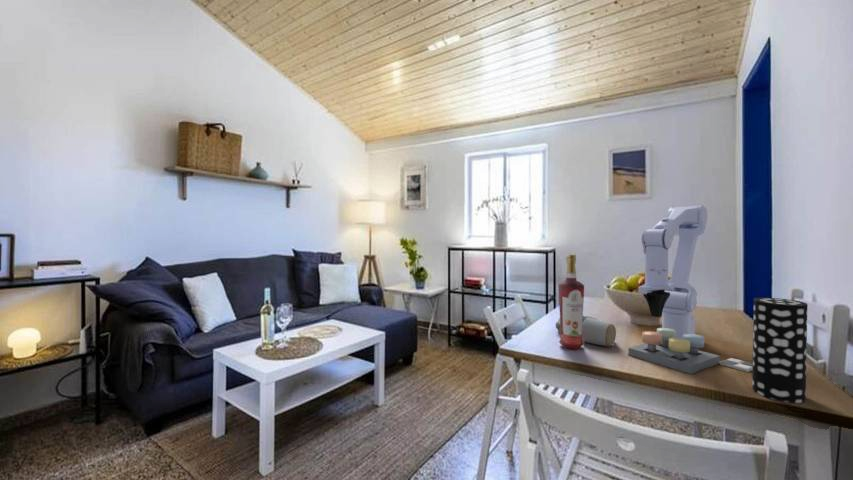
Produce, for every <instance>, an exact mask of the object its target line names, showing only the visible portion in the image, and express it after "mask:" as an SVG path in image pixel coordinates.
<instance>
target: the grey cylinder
mask: <svg viewBox="0 0 853 480" xmlns="http://www.w3.org/2000/svg"><path fill="white" fill-rule="evenodd" d="M616 338H617V330H616V326H615V325H614V324H612V323H611V322H608V321H604V320H601V319H599V320H596V319H593V318H586V319H585V320H584V322H583V325H582V342H584V343H589V344H593V345H598V346H601V347H612V346H613V344H614V343H615V340H616Z"/></svg>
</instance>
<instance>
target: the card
mask: <svg viewBox="0 0 853 480" xmlns="http://www.w3.org/2000/svg"><path fill="white" fill-rule="evenodd" d="M719 365H720V366H723V367H728V368H731V369H734V370H739V371H742V372H745V373H746V372H747V373H750V372H753V362H749V361H744V360H741V359H736V358H733V357H729V358H727V359H725V360H722V361H719Z"/></svg>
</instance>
